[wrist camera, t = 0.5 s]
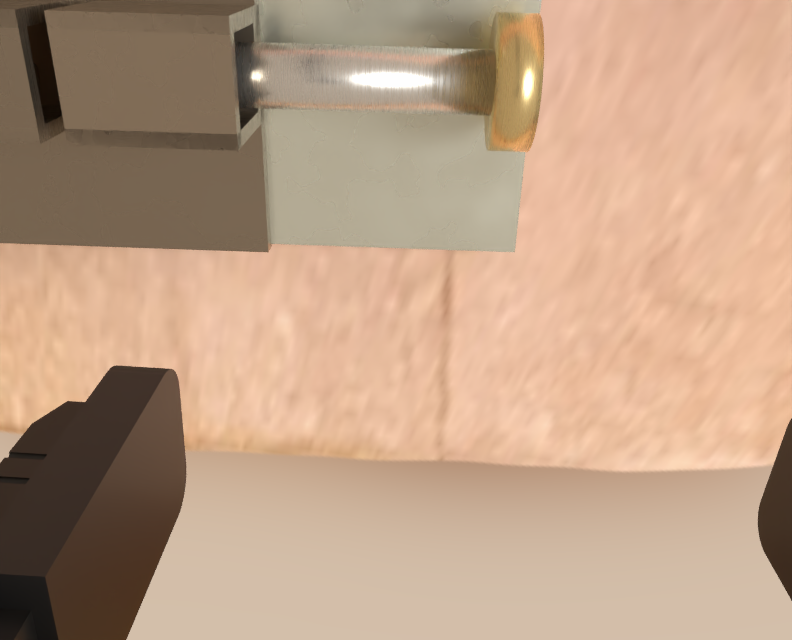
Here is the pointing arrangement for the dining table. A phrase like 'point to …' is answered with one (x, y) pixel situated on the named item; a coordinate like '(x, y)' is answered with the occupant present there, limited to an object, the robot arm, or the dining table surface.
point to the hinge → (235, 132)
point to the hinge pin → (408, 79)
